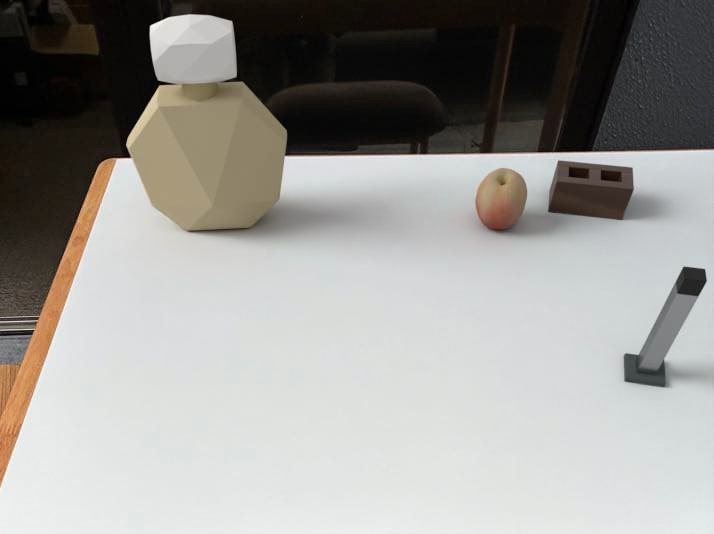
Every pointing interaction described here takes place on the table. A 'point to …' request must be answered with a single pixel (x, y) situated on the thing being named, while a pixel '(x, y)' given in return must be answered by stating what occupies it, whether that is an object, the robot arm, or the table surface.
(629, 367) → the mat
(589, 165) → the holder
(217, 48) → the perfume bottle
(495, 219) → the fruit
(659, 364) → the grey square peg
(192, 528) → the table surface
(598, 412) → the table surface
